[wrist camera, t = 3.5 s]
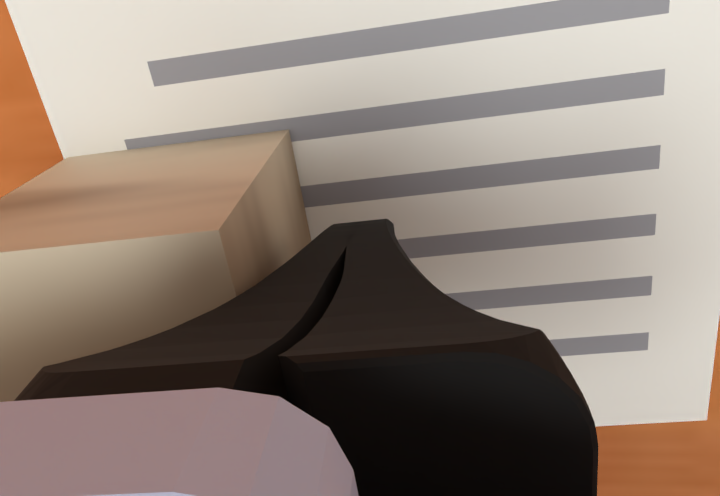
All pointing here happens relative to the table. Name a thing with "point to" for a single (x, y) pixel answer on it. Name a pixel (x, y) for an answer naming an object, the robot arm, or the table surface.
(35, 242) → the beech block
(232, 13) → the letter
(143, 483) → the robot arm
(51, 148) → the table surface
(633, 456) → the table surface
